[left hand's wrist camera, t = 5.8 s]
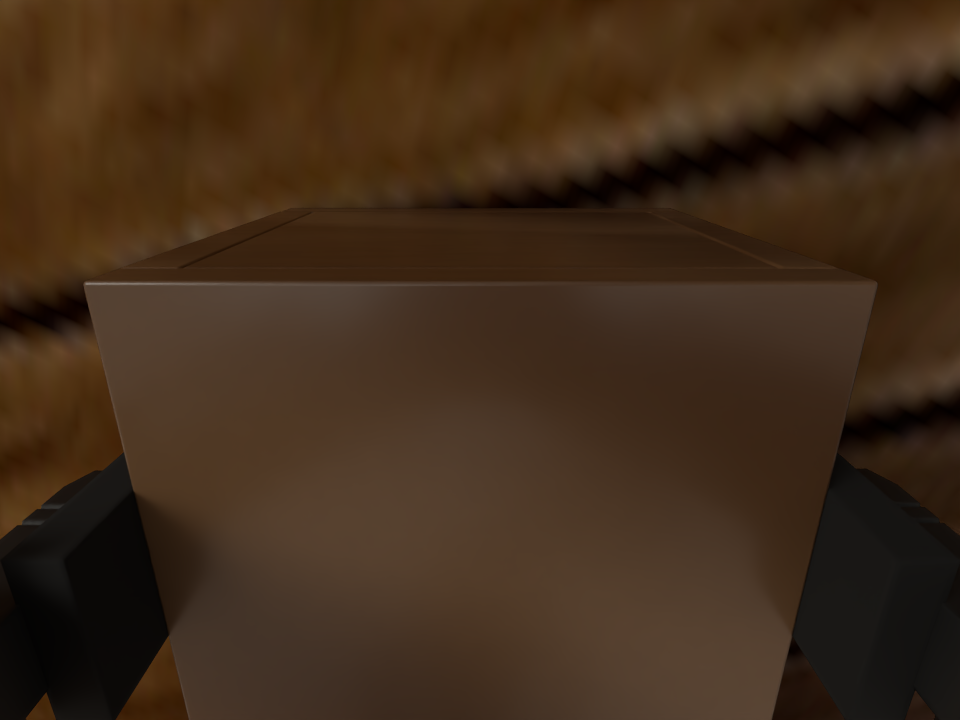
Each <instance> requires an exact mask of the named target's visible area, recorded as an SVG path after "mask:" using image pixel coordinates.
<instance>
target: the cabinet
mask: <svg viewBox="0 0 960 720" xmlns="http://www.w3.org/2000/svg"><path fill="white" fill-rule="evenodd" d="M877 287H878V284H877V282H876V281H874V280H871V279H869V278H866V277H863V276H860V275H857V274H854V273H852V272H849V271H846V270H843V269H838V268H836V267H834V266H831V265H828V264H825V263H822V262H820V261H817V260H814V259H811V258H808V257H806V256H803V255H800V254H797V253H794V252H791V251H789V250H786V249H783V248H780V247H777V246H775V245H772V244H769V243H766V242H763V241H761V240H758V239H755V238H752V237H749V236H746V235H744V234H741V233H738V232H735V231H732V230H730V229H727V228H724V227H721V226H718V225H716V224H713V223H710V222H707V221H704V220H702V219H699V218H696V217H693V216H690V215H687V214H685V213H682V212H679V211H676V210H673V209H671V208H291V209H288V210H285V211H282V212H278V213H275V214H272V215H270V216H267V217H264V218H261V219H258V220H255V221H253V222H250V223H247V224H244V225H241V226H238V227H236V228H233V229H230V230H227V231H224V232H221V233H219V234H216V235H213V236H210V237H207V238H204V239H202V240H199V241H196V242H193V243H190V244H187V245H185V246H182V247H179V248H176V249H173V250H170V251H167V252H165V253H162V254H159V255H156V256H153V257H150V258H148V259H145V260H142V261H139V262H136V263H133V264H131V265H128V266H125V267H123V268H120V269H117V270H114V271H112V272H109V273H106V274H103V275H100V276H97V277H95V278H92V279H89V280H87V281H85V282H84V290H85V294H86V298H87V302H88V306H89V310H90V315H91V319H92V323H93V327H94V331H95V335H96V339H97V343H98V347H99V351H100V356H101V360H102V364H103V368H104V372H105V376H106V380H107V384H108V388H109V393H110V397H111V401H112V405H113V409H114V413H115V417H116V421H117V425H118V429H119V434H120V438H121V442H122V446H123V450H124V454H125V458H126V462H127V466H128V471H129V475H130V479H131V483H132V487H133V491H134V495H135V499H136V503H137V508H138V512H139V516H140V520H141V524H142V528H143V532H144V536H145V540H146V544H147V549H148V553H149V557H150V561H151V565H152V569H153V573H154V577H155V581H156V586H157V590H158V594H159V598H160V602H161V606H162V610H163V614H164V618H165V622H166V627H167V631H168V635H169V639H170V643H171V647H172V651H173V655H174V659H175V664H176V668H177V672H178V676H179V680H180V684H181V688H182V692H183V696H184V701H185V705H186V709H187V713H188V717H189V720H772V717H773V713H774V708H775V704H776V700H777V696H778V692H779V688H780V684H781V680H782V676H783V672H784V668H785V663H786V659H787V655H788V651H789V647H790V643H791V639H792V635H793V631H794V627H795V623H796V618H797V614H798V610H799V606H800V602H801V598H802V594H803V590H804V586H805V582H806V578H807V573H808V569H809V565H810V561H811V557H812V553H813V549H814V545H815V541H816V537H817V533H818V528H819V524H820V520H821V516H822V512H823V508H824V504H825V500H826V496H827V492H828V488H829V483H830V479H831V475H832V471H833V467H834V463H835V459H836V455H837V451H838V447H839V443H840V438H841V434H842V430H843V426H844V422H845V418H846V414H847V410H848V406H849V402H850V398H851V393H852V389H853V385H854V381H855V377H856V373H857V369H858V365H859V361H860V357H861V353H862V349H863V344H864V340H865V336H866V332H867V328H868V324H869V320H870V316H871V312H872V308H873V304H874V299H875V295H876V291H877Z"/></svg>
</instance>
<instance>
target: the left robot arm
mask: <svg viewBox="0 0 960 720" xmlns="http://www.w3.org/2000/svg"><path fill="white" fill-rule="evenodd" d="M41 506H42V507H41V509H37V510H35V511H34V512H33V513H32V514H31V515H29V516H28V517H27V518H26V519H25V520H23V521H22V522H23V523H22V525H17V526H16V527H15V528H14V529H13V530H11V531H10V532H9V533H8V534H6V535H5V536H4V537H3V538H2V539H0V720H26V717H27V716H28V715H29V713H30V712H31V711H32V709H33V708H34V707H35V706H36V704H37V703H38V702H39V701H40V699H41V698H42V697H43V695H44V694H45V693H46V692H47V695H48V698H49V701H50V703H51V706H52V709H53V712H54V715H55V718H56V720H115V719H116V718H117V716H118V715H119V713H120V712H121V710H122V708H123V707H124V705H125V704H126V702H127V700H128V699H129V697H130V696H131V694H132V693H133V691H134V689H135V688H136V686H137V685H138V683H139V681H140V680H141V678H142V677H143V675H144V674H145V672H146V670H147V669H148V667H149V666H150V664H151V662H152V661H153V659H154V658H155V656H156V654H157V653H158V651H159V650H160V648H161V647H162V645H163V643H164V642H165V640H166V639H167V637H168V631H167V627H166V622H165V618H164V614H163V610H162V606H161V602H160V598H159V594H158V590H157V586H156V581H155V577H154V573H153V569H152V565H151V561H150V557H149V553H148V549H147V544H146V540H145V536H144V532H143V528H142V524H141V520H140V516H139V512H138V508H137V503H136V499H135V495H134V491H133V487H132V483H131V479H130V475H129V471H128V466H127V462H126V458H125V454H124V453H123V454H121V455H120V456H119V457H118V458H117V459H116V460H115V461H113V462H112V463H111V464H110V465H109V466H108V467H107V468H105V469H104V470H103V471H93V472H92V473H90V474H88V475H86V476H84V477H82V478H80V479H78V480H76V481H74V482H72V483H70V484H68V485H66V486H65V487H63V488H62V489H61V490H60V491H58V492H57V493H56V494H55V495H54V496H52V497H51V498H50V499H49V500H48V501H46V502H45V503H44V504H43V505H41ZM792 636H793V638H794V639H795V641H796V642H797V644H798V646H799V647H800V649H801V650H802V652H803V653H804V655H805V657H806V658H807V660H808V661H809V663H810V665H811V666H812V668H813V669H814V671H815V672H816V674H817V676H818V677H819V679H820V680H821V682H822V684H823V685H824V687H825V688H826V690H827V691H828V693H829V695H830V696H831V698H832V699H833V701H834V703H835V704H836V706H837V707H838V709H839V711H840V712H841V714H842V715H843V717H844V718H845V720H905V717H906V714H907V711H908V709H909V706H910V703H911V700H912V697H913V694H914V692H915V690H916V691H917V693H918V694H919V695H920V696H921V698H922V699H923V700H924V701H925V703H926V704H927V705H928V706H929V708H930V709H931V710H932V712H933V713H934V714H935V718H934V720H960V536H959V535H958V534H957V533H955V532H954V531H953V530H952V529H951V528H949V527H948V526H947V525H946V524H944V523H940V522H939V519H938V518H937V517H936V516H935V515H933V514H932V513H931V512H930V511H929V510H927V509H926V508H925V507H920V503H919V502H918V501H916V500H915V499H914V498H913V497H912V496H910V495H909V494H908V493H907V492H906V491H904V490H903V489H902V488H901V487H899V486H898V485H897V484H895V483H893V482H891V481H889V480H887V479H885V478H883V477H881V476H879V475H877V474H875V473H874V472H872V471H870V470H868V469H855V468H854V467H853V466H852V465H851V464H850V463H848V462H847V461H846V460H845V459H844V458H843V457H842V456H840V455H839V454H838V453H837V455H836V459H835V463H834V467H833V471H832V475H831V479H830V483H829V488H828V492H827V496H826V500H825V504H824V508H823V512H822V516H821V520H820V524H819V528H818V533H817V537H816V541H815V545H814V549H813V553H812V557H811V561H810V565H809V569H808V573H807V578H806V582H805V586H804V590H803V594H802V598H801V602H800V606H799V610H798V614H797V618H796V623H795V627H794V631H793V635H792Z"/></svg>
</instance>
